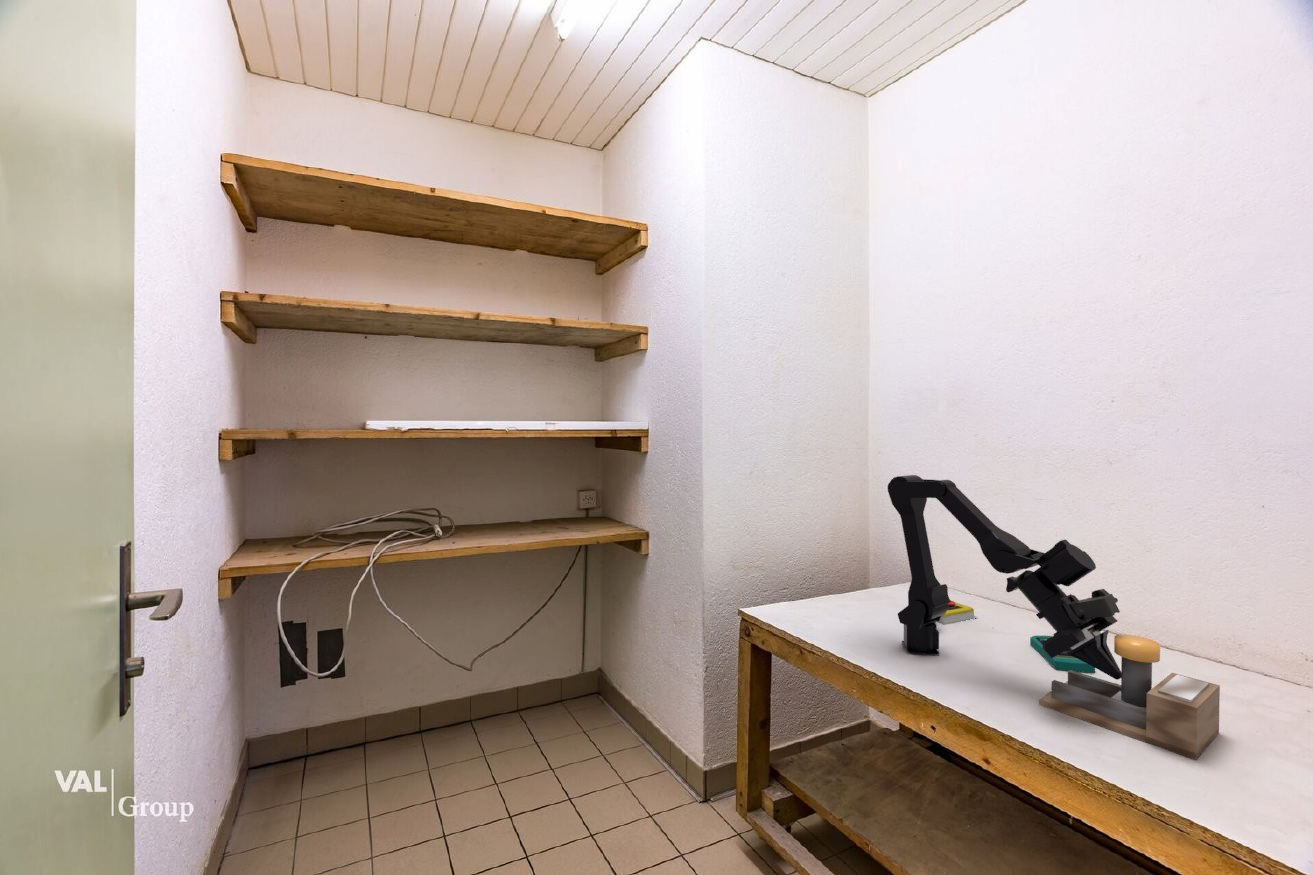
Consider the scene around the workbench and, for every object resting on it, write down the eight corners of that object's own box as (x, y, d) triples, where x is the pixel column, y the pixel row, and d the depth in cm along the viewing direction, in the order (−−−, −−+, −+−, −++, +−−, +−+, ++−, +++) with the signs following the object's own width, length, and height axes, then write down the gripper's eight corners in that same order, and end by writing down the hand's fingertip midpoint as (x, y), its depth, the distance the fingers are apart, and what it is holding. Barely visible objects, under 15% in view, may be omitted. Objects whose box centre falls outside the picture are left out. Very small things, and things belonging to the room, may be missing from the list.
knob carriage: (1108, 713, 100) (1108, 639, 99) (1120, 703, 103) (1121, 631, 103) (1152, 728, 95) (1153, 650, 94) (1164, 717, 98) (1165, 642, 98)
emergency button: (980, 603, 152) (937, 610, 146) (980, 619, 152) (937, 628, 146) (950, 593, 160) (908, 600, 154) (949, 609, 160) (908, 616, 154)
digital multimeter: (1064, 648, 132) (1064, 635, 132) (1096, 675, 118) (1096, 661, 118) (1028, 645, 134) (1028, 633, 134) (1055, 672, 120) (1055, 658, 120)
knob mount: (1039, 704, 105) (1039, 658, 105) (1068, 685, 113) (1069, 642, 112) (1196, 760, 88) (1197, 705, 87) (1218, 733, 95) (1219, 682, 95)
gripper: (1063, 584, 99) (1143, 670, 90) (1104, 568, 110) (1180, 643, 101) (1013, 617, 106) (1083, 700, 97) (1056, 599, 117) (1123, 672, 108)
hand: (1120, 678), depth 101 cm, fingers closed, pressing on knob carriage
